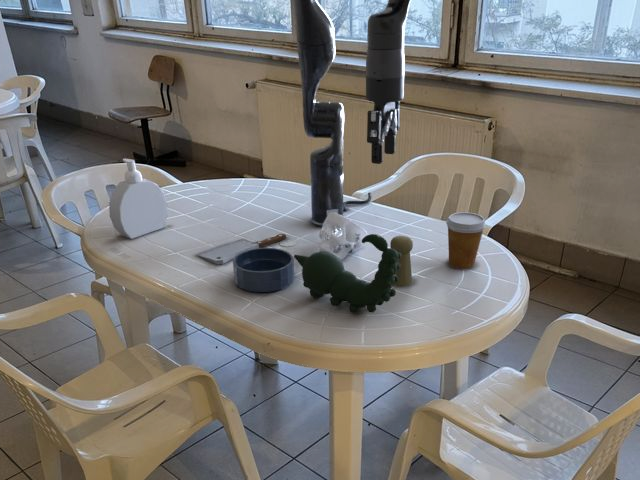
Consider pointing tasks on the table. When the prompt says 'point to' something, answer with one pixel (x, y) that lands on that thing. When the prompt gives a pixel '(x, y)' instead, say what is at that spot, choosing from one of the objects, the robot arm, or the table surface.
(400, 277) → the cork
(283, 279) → the bowl
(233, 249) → the kitchen cleaver
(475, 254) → the disposable coffee cup
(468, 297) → the table surface
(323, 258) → the toy figurine
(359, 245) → the skull bowl
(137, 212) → the soap bottle
